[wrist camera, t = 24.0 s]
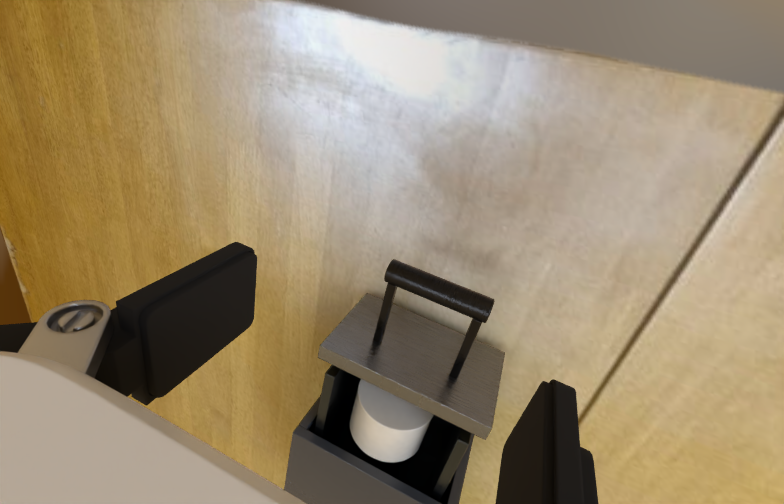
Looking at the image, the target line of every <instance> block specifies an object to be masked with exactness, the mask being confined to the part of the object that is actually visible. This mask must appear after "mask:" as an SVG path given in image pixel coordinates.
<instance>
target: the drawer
mask: <svg viewBox="0 0 784 504" xmlns="http://www.w3.org/2000/svg"><path fill="white" fill-rule="evenodd" d="M384 280H385V282H388V284H387V288H386V292H385V296H384V300H382V299H380V298H378V297H375V296H373V295H371V294H368V293H366V294H365V296H364V297H363V298H362V299H361V300H360V301H359V302H358V303H357V304H356V306H355V307H354V308H353V309H352V310H351V311H350V312H349V313H348V315H347V316H346V317H345V318H344V319H343V320H342V321H341V322H340V324H339V325H338V326H337V327H336V328H335V329H334V330H333V331H332V332H331V334H330V335H329V336H328V337H327V338H326V339H325V340H324V341H323V343H322V344H321V345H320V348H319V353H318V358H320V359H322V360H324V361H326V362H328V363H330V364H332V365H331V367H330V368H329V369H328V370H327V372H326V373H325V378H324V383H323V388H322V393H321V398H320V403H319V409H318V414H317V419H316V424H315V429H314V434H315V435H317V436H319V437H321V438H323V439H325V440H326V441H328V442H330V443H332V444H334V445H336V446H337V447H339V448H341V449H343V450H345V451H347V452H348V453H350V454H352V455H354V456H356V457H358V458H359V459H361V460H363V461H365V462H367V463H369V464H370V465H372V466H374V467H376V468H378V469H380V470H381V471H383V472H385V473H387V474H389V475H391V476H392V477H394V478H396V479H398V480H400V481H401V482H403V483H405V484H407V485H409V486H411V487H412V488H414V489H416V490H418V491H420V492H422V493H423V494H425V495H427V496H429V497H431V498H433V499H434V500H436V501H438V502H440V500H441V498H442V496H443V494H444V492H445V490H446V488H447V486H448V484H449V483H450V481H451V479H452V477H453V475H454V473H455V471H456V469H457V467H458V465H459V463H460V461H461V459H462V458H463V456H464V454H465V452H466V450H467V448H468V446H469V443H470V439H471V434H474V435H476V436H478V437H480V438H482V439H485V440H486V438H487V437H488V435H489V433H490V431H491V429H492V426H493V420H494V414H495V408H496V403H497V397H498V391H499V385H500V379H501V374H502V368H503V362H504V356H505V352H503V351H501V350H498V349H496V348H494V347H491V346H489V345H487V344H484V343H482V342H480V341H477V340H475V337H476V335H477V333H478V330H479V328H480V326H481V324H482V322H483V323H486V321H487V320H488V317H489V315H490V313H491V310H492V307H493V304H494V299H492V298H490V297H487V296H485V295H482V294H480V293H477V292H475V291H472V290H470V289H467V288H465V287H462V286H460V285H457V284H455V283H452V282H450V281H447V280H445V279H442V278H440V277H437V276H435V275H432V274H430V273H427V272H425V271H422V270H420V269H417V268H415V267H412V266H410V265H407V264H405V263H402V262H400V261H397V260H395V259H393V260H392V261H391V262H390V264H389V266H388V268H387V270H386V273H385V278H384ZM397 287H400V288H402V289H404V290H407V291H409V292H412V293H414V294H416V295H419V296H421V297H424V298H426V299H428V300H431V301H433V302H435V303H438V304H440V305H443V306H445V307H447V308H450V309H452V310H455V311H457V312H459V313H462V314H464V315H467V316H469V317H471V318H473V319H472V321H471V324H470V326H469V328H468V331H467V333H466V335H463V334H461V333H459V332H457V331H454V330H452V329H450V328H447V327H445V326H443V325H440V324H438V323H436V322H433V321H431V320H429V319H426V318H424V317H422V316H419V315H417V314H415V313H412V312H410V311H408V310H405V309H403V308H401V307H398V306H396V305H394V304H393V301H394V297H395V294H396V290H397ZM361 379H362V380H364V381H366V382H368V383H371V384H373V385H375V386H377V387H379V388H381V389H383V390H385V391H387V392H389V393H391V394H393V395H395V396H397V397H399V398H401V399H403V400H405V401H407V402H409V403H411V404H413V405H415V406H417V407H419V408H421V409H423V410H425V411H428V412H430V413H432V414H434V416H433V418H432V420H431V423H430V425H429V427H428V430H427V432H426V434H425V437H424V439H423V442H422V444H421V446H420V448H419V449H418V451H417V452H416V453H415V454H414V455H413V456H412V457H410V458H408V459H406V460H404V461H400V462H393V463H391V462H383V461H379V460H376V459H374V458H372V457H370V456H369V455H367V454H366V453H364V452H363V451H362V450H361V449H360V448H359V447H358V445H357V444H356V442H355V441H354V439H353V437H352V434H351V430H350V416H351V412H352V408H353V404H354V401H355V397H356V393H357V389H358V385H359V382H360V380H361Z"/></svg>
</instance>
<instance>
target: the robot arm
mask: <svg viewBox="0 0 784 504" xmlns="http://www.w3.org/2000/svg"><path fill="white" fill-rule="evenodd" d="M256 270H257V256H256V255H255V254H254V250H253V249H252V248H250V247H248V246H246V245H243V244H241V243H239V242H234V243H232V244H230V245H228V246H226V247H224V248H222V249H220V250H218V251H216V252H214V253H212V254H210V255H208V256H206V257H204V258H202V259H200V260H198V261H196V262H194V263H192V264H190V265H188V266H186V267H184V268H182V269H180V270H178V271H176V272H174V273H172V274H170V275H168V276H166V277H164V278H162V279H160V280H158V281H156V282H154V283H152V284H150V285H148V286H146V287H144V288H142V289H140V290H138V291H136V292H134V293H132V294H130V295H128V296H126V297H124V298H122V299H120V300H118V301H116V305H117V307H116V308H114V309H112V310H110V309H109V307H108V306H107V305H106V304H104V303H102V302H99V301H95V300H79V301H72V302H68V303H64V304H61V305H59V306H56V307H54V308H52V309H51V310H49V311H48V312H46V313H45V314H44V315H43V316H42V317H41V318H40V320H39V321H38V322H34V323H21V324H9V325H0V504H307V503H305V502H303V501H302V500H300V499H298V498H297V497H295V496H293V495H292V494H290V493H288V492H287V491H285V490H283V489H282V488H280V487H278V486H277V485H275V484H273V483H272V482H270V481H268V480H267V479H265V478H263V477H262V476H260V475H258V474H257V473H255V472H253V471H252V470H250V469H248V468H247V467H245V466H243V465H242V464H240V463H238V462H237V461H235V460H233V459H231V458H230V457H228V456H226V455H225V454H223V453H221V452H220V451H218V450H216V449H215V448H213V447H211V446H210V445H208V444H206V443H205V442H203V441H201V440H200V439H198V438H196V437H195V436H193V435H191V434H189V433H188V432H186V431H184V430H183V429H181V428H179V427H178V426H176V425H174V424H172V423H171V422H169V421H167V420H166V419H164V418H162V417H161V416H159V415H157V414H155V413H154V412H152V411H150V410H149V409H147V408H145V407H144V406H142V405H140V404H139V403H137V402H135V401H133V400H132V399H130V398H128V397H127V396H129V395H130V394H131V393H132V397H133V398H135V399H136V400H138V401H140V402H141V403H143V404H145V405H148V404H149V403H150V402H152V401H153V400H154V399H155V398H157V397H158V398H160V397H163V396H164V395H166V394H167V393H168V392H170V391H171V390H172V389H173V388H175V387H176V386H177V385H178V384H180V383H181V382H182V381H183V380H185V379H186V378H187V377H188V376H189V375H191V374H192V373H193V372H194V371H196V370H197V369H198V368H199V367H201V366H202V365H203V364H204V363H206V362H207V361H208V360H209V359H211V358H212V357H213V356H214V355H215V354H217V353H218V352H219V351H220V350H222V349H223V348H224V347H225V346H227V345H228V344H229V343H230V342H232V341H233V340H234V339H235V338H237V337H238V336H239V335H240V334H241V333H243V332H244V331H245V330H246V329H248V328H249V327H250V325H251V324H252V322H253V319H254V306H255V288H256ZM496 504H598V497H597V488H596V478H595V469H594V461H593V456H592V454H591V452H590V451H588V450H586V449H584V448H582V447H580V440H579V427H578V414H577V401H576V391H575V389H574V388H572V387H570V386H568V385H565V384H563V383H561V382H558V381H556V380H551V381H550V382H549V383H547V382H545V381H543V382H542V383H541V384H540V386H539V387H538V389H537V391H536V392H535V394H534V396H533V397H532V399H531V401H530V402H529V404H528V406H527V407H526V409H525V411H524V412H523V414H522V416H521V417H520V419H519V421H518V422H517V424H516V426H515V427H514V429H513V431H512V432H511V434H510V436H509V437H508V439H507V441H506V443H505V446H504V449H503V453H502V460H501V467H500V475H499V482H498V490H497V497H496Z"/></svg>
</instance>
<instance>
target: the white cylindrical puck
mask: <svg viewBox="0 0 784 504" xmlns="http://www.w3.org/2000/svg"><path fill="white" fill-rule="evenodd" d="M433 416H434V414H432V413H430V412H428V411H425V410H423V409H421V408H419V407H417V406H415V405H413V404H411V403H409V402H407V401H405V400H403V399H401V398H399V397H397V396H395V395H393V394H391V393H389V392H387V391H385V390H383V389H381V388H379V387H377V386H375V385H373V384H371V383H368V382H366V381H364V380H362V379H361V380H360V382H359V385H358V389H357V393H356V397H355V401H354V404H353V408H352V412H351V416H350V430H351V434H352V437H353V439H354V441H355V442H356V444H357V445H358V447H359V448H360V449H361V450H362V451H363V452H364V453H366V454H367V455H369V456H370V457H372V458H374V459H376V460H379V461H383V462H391V463H393V462H400V461H404V460H406V459H408V458H410V457H412V456H413V455H414V454H415V453H416V452H417V451H418V449H419V448H420V446H421V444H422V442H423V439H424V437H425V434H426V432H427V430H428V427H429V425H430V423H431V420H432V418H433Z"/></svg>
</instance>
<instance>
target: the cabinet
mask: <svg viewBox="0 0 784 504" xmlns="http://www.w3.org/2000/svg"><path fill="white" fill-rule="evenodd" d="M320 398H321V395H320V397H319V398H318V399H317V401H316V402H315V403H314V405H313V406H312V407H311V409H310V410H309V411H308V413H307V414H306V415H305V417H304V418H303V419H302V421H301V422H300V423H299V425H298V426H297V427H296V429H295V430H294V431H293V435H292V441H291V448H290V454H289V461H288V468H287V474H286V481H285V487H284V490H285V491H287V492H288V493H290V494H292V495H293V496H295V497H297V498H298V499H300V500H302V501H303V502H305V503H307V504H459V500H460V496H461V491H462V487H463V482H464V478H465V473H466V469H467V464H468V460H469V455H470V451H471V446H472V442H473V437H474V434H471V439H470V443H469V446H468V448H467V450H466V452H465V454H464V456H463V458H462V459H461V461H460V463H459V465H458V467H457V469H456V471H455V473H454V475H453V477H452V479H451V481H450V483H449V484H448V486H447V488H446V490H445V492H444V494H443V496H442V498H441V500H440V502H438V501H436V500H434V499H433V498H431V497H429V496H427V495H425V494H423V493H422V492H420V491H418V490H416V489H414V488H412V487H411V486H409V485H407V484H405V483H403V482H401V481H400V480H398V479H396V478H394V477H392V476H391V475H389V474H387V473H385V472H383V471H381V470H380V469H378V468H376V467H374V466H372V465H370V464H369V463H367V462H365V461H363V460H361V459H359V458H358V457H356V456H354V455H352V454H350V453H348V452H347V451H345V450H343V449H341V448H339V447H337V446H336V445H334V444H332V443H330V442H328V441H326V440H325V439H323V438H321V437H319V436H317V435H315V434H314V429H315V424H316V419H317V414H318V409H319V403H320Z"/></svg>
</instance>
